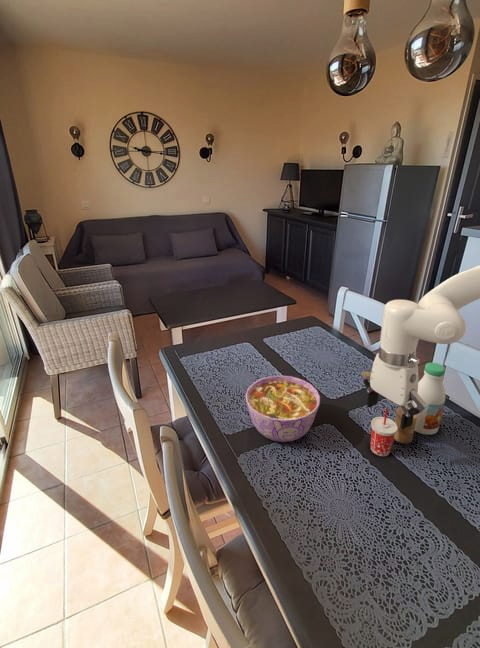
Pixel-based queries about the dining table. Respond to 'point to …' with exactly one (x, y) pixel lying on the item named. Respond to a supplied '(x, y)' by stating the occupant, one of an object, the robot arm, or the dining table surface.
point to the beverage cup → (382, 435)
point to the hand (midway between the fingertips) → (388, 415)
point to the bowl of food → (282, 407)
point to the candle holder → (406, 433)
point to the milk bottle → (431, 399)
